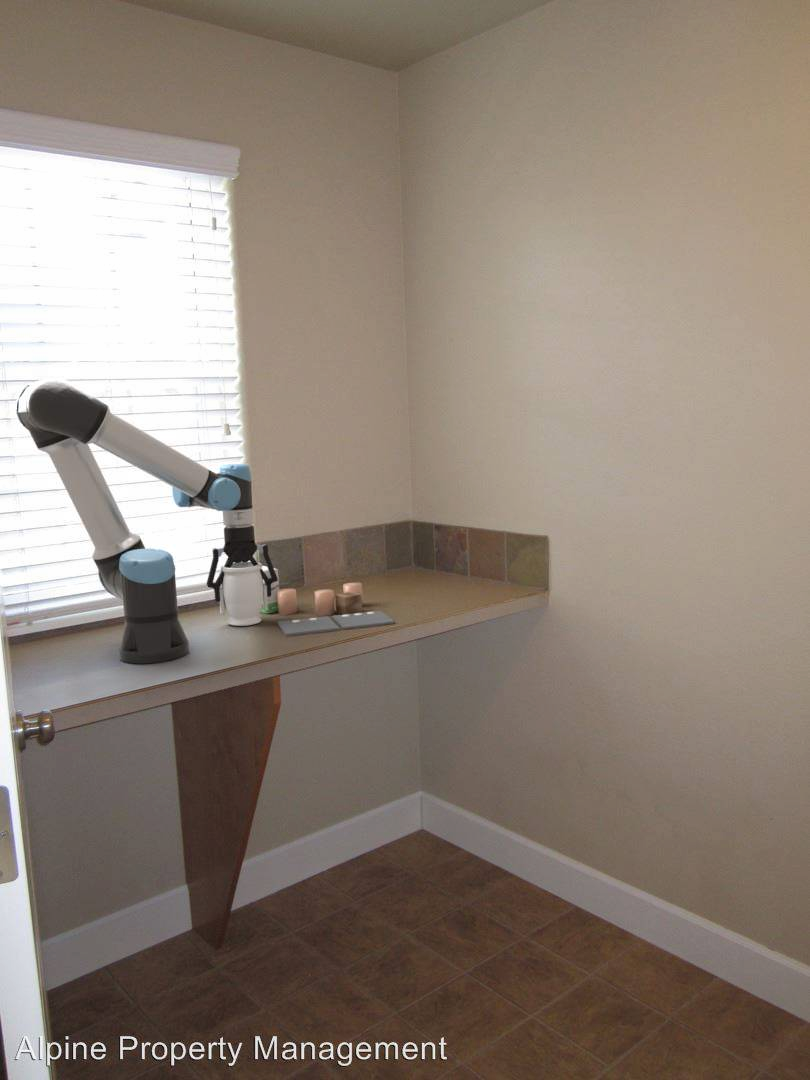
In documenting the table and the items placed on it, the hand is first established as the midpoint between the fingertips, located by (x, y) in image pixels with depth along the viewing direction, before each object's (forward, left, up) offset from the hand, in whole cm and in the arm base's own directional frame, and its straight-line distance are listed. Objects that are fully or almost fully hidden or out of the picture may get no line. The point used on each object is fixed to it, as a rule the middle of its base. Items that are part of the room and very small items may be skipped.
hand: (244, 611), depth 227 cm
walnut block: (+27, -1, -3) cm, 27 cm away
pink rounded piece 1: (+21, +1, -3) cm, 21 cm away
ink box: (+7, +12, -3) cm, 14 cm away
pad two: (+14, -11, -3) cm, 19 cm away
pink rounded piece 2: (+30, +6, -3) cm, 31 cm away
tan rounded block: (+12, +7, -3) cm, 14 cm away
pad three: (+28, -11, -3) cm, 31 cm away
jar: (0, 0, -3) cm, 3 cm away
